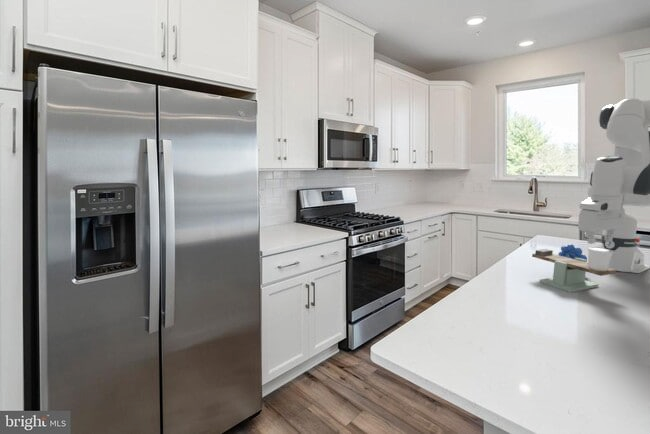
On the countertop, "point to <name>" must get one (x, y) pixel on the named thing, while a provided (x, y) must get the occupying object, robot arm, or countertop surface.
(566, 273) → the pivot stand
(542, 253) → the seesaw beam
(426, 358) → the countertop surface
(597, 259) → the white cup
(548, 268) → the countertop surface
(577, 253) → the grapes
